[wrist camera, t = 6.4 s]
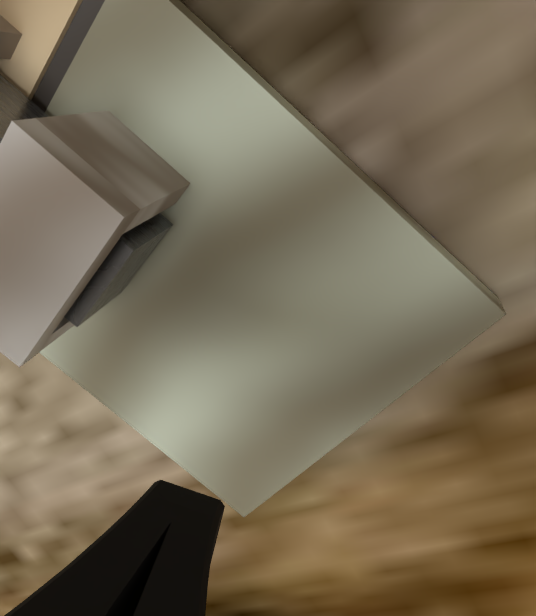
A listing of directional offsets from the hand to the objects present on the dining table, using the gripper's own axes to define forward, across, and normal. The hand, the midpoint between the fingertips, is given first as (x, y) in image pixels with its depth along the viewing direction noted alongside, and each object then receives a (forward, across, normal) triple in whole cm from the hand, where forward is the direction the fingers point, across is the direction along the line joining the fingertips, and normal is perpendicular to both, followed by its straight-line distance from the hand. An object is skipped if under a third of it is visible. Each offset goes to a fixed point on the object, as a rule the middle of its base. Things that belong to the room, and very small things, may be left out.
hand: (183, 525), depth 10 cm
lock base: (+8, +6, -3) cm, 10 cm away
